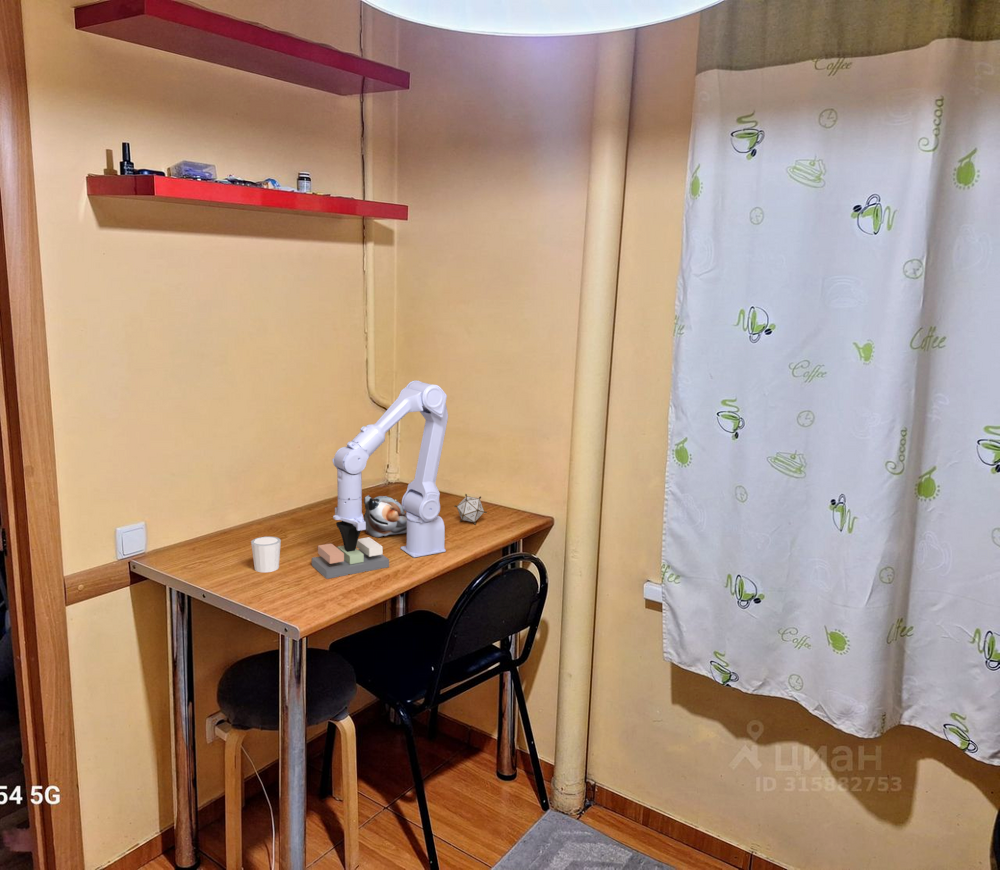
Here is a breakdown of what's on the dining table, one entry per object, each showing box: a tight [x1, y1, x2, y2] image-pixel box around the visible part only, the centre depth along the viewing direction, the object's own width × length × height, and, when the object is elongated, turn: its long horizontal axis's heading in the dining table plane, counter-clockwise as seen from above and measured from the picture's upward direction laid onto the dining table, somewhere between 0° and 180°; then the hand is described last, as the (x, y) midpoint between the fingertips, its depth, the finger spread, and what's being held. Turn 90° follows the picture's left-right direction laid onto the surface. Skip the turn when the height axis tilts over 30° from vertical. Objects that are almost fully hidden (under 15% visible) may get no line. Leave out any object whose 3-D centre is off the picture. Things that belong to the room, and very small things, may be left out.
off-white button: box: [356, 536, 384, 557], centre depth 196 cm, size 4×8×2 cm, turn 33°
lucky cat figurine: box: [363, 494, 407, 539], centre depth 217 cm, size 15×12×14 cm
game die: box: [453, 493, 488, 526], centre depth 231 cm, size 9×8×10 cm
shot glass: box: [250, 536, 282, 573], centre depth 191 cm, size 7×7×7 cm
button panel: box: [311, 549, 390, 580], centre depth 194 cm, size 16×10×2 cm, turn 123°
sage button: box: [336, 544, 364, 564], centre depth 194 cm, size 4×8×2 cm, turn 33°
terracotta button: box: [317, 543, 344, 564], centre depth 191 cm, size 4×8×2 cm, turn 33°
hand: (350, 550), depth 193 cm, fingers closed, pressing on sage button
